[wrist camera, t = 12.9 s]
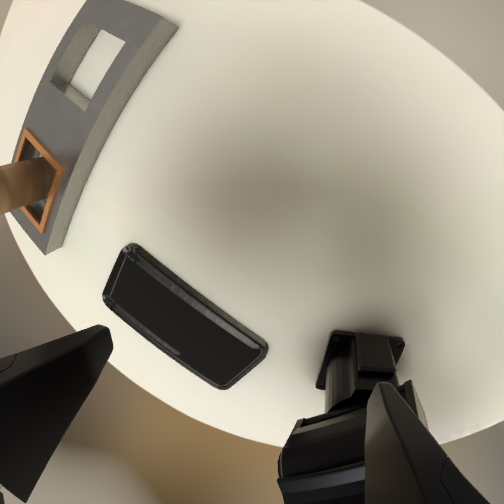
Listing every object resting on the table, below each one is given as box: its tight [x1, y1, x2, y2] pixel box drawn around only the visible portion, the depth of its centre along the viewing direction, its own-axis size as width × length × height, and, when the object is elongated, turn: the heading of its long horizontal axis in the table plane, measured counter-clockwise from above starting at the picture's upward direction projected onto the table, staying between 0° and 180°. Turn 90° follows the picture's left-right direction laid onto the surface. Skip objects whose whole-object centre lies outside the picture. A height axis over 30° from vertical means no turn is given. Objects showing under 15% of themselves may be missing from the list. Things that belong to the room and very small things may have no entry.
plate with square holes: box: [10, 0, 178, 255], centre depth 19 cm, size 23×9×3 cm, turn 142°
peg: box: [0, 157, 57, 215], centre depth 17 cm, size 4×4×13 cm
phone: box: [102, 243, 268, 390], centre depth 25 cm, size 8×1×15 cm
